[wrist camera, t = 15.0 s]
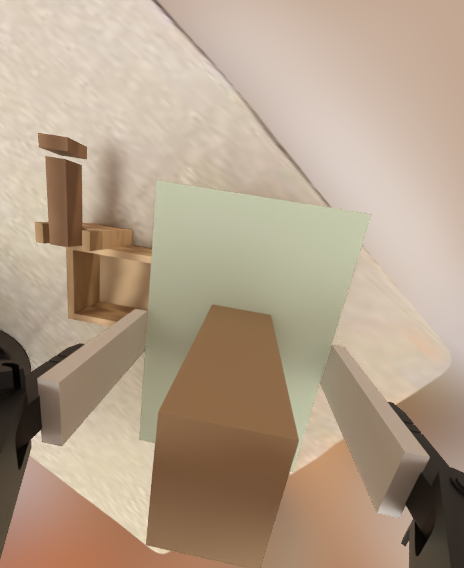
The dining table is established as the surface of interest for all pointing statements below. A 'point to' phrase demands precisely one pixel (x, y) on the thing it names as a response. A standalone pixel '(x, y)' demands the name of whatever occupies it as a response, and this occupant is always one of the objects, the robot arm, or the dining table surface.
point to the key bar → (64, 190)
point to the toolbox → (104, 273)
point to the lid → (235, 358)
